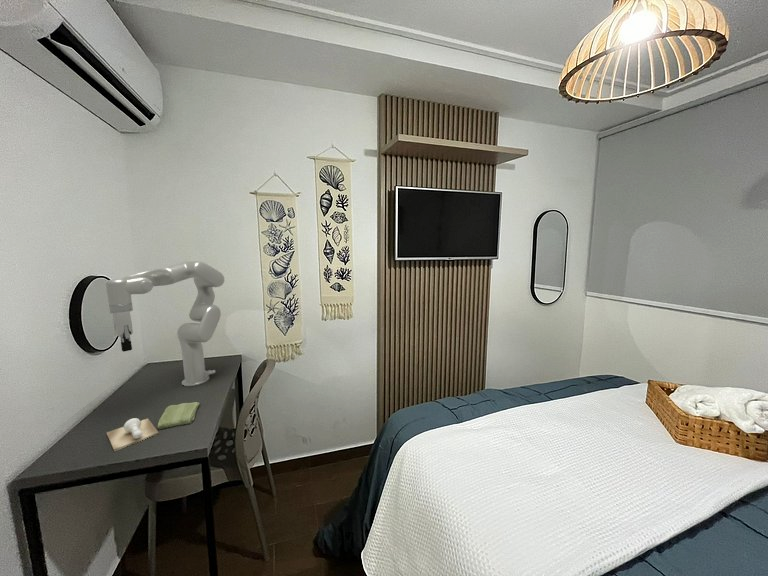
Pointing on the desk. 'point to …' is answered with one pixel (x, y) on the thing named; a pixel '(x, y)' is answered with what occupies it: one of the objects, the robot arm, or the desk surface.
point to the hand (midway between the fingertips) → (127, 350)
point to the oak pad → (130, 435)
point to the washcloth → (178, 415)
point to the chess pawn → (133, 427)
